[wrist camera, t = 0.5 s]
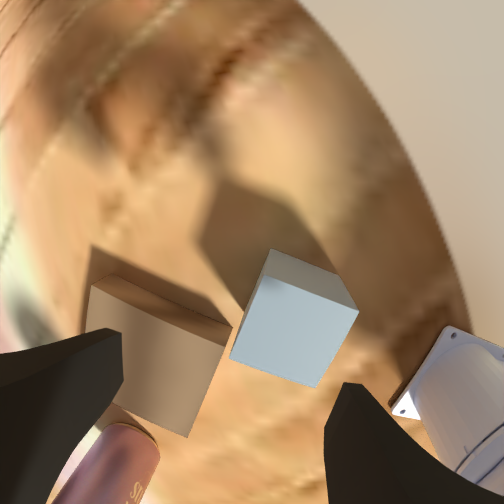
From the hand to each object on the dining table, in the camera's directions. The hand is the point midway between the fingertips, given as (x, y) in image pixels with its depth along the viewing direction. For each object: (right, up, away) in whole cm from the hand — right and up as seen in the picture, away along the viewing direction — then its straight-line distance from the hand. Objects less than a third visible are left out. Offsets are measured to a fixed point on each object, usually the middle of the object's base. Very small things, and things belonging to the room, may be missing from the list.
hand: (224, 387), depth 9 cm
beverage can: (-10, -14, +14) cm, 23 cm away
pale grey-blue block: (+3, +2, +9) cm, 10 cm away
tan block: (-6, -3, +12) cm, 14 cm away
